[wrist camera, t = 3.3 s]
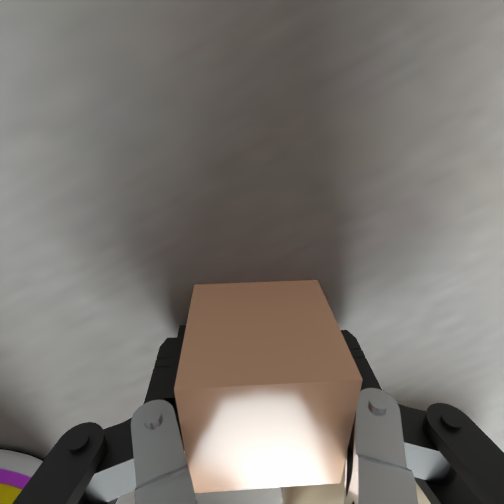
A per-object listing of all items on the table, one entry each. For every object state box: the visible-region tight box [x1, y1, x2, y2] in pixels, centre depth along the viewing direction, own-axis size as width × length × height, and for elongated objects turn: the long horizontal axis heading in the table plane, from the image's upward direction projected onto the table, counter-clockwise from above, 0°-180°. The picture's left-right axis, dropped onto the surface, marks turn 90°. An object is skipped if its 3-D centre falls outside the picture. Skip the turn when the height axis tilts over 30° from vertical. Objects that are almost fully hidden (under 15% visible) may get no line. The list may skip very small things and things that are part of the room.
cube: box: [174, 280, 363, 493], centre depth 12 cm, size 5×5×5 cm
